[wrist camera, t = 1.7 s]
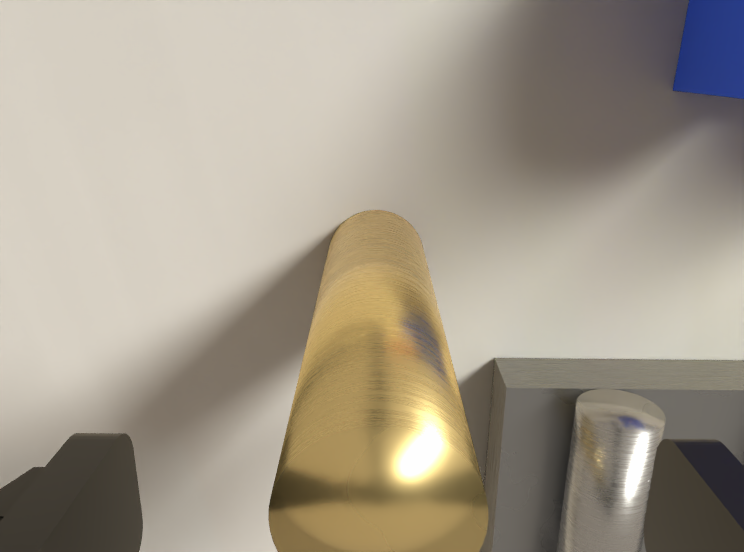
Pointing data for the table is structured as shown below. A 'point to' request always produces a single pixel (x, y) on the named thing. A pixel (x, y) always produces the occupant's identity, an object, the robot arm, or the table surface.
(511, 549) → the grey plate with pins
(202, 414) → the table surface
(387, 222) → the pin
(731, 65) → the bracket
